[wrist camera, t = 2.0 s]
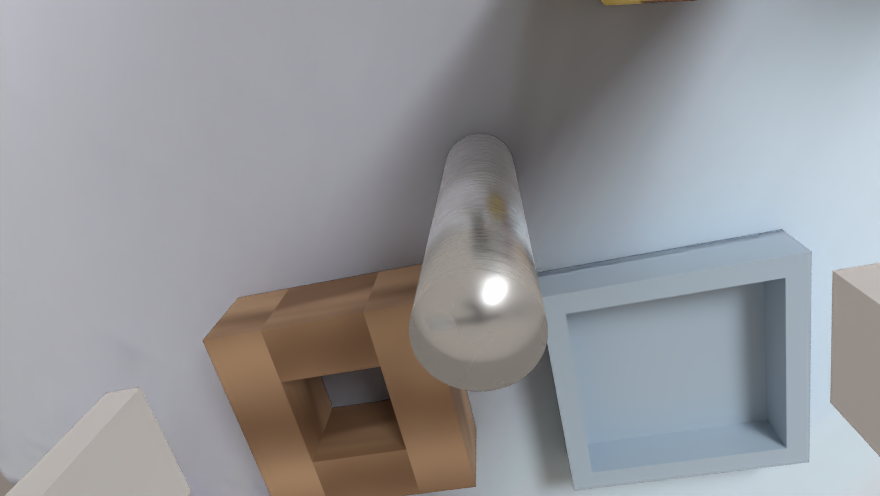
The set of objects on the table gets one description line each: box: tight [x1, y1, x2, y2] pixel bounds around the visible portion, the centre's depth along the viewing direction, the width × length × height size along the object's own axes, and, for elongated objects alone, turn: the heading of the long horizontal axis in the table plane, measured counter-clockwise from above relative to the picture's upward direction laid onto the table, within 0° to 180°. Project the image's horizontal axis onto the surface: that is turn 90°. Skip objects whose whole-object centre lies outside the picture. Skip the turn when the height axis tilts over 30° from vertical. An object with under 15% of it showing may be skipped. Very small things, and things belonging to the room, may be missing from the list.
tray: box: [537, 229, 812, 490], centre depth 27 cm, size 11×11×2 cm
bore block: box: [203, 264, 476, 496], centre depth 28 cm, size 10×10×4 cm
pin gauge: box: [409, 134, 548, 391], centre depth 19 cm, size 3×3×14 cm
